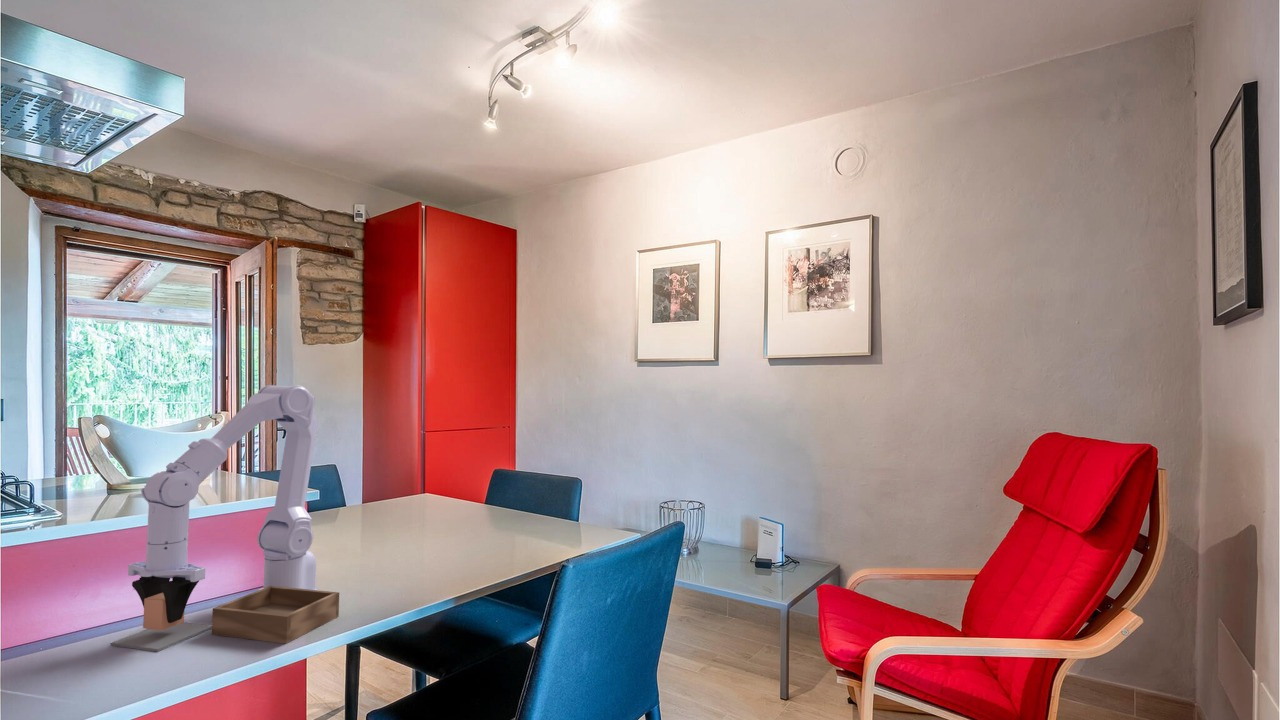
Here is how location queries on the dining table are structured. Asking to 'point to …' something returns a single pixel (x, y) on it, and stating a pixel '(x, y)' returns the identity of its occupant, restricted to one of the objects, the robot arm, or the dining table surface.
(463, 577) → the dining table surface
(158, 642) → the slate mat
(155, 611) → the terracotta block
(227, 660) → the dining table surface
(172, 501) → the robot arm
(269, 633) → the walnut box
